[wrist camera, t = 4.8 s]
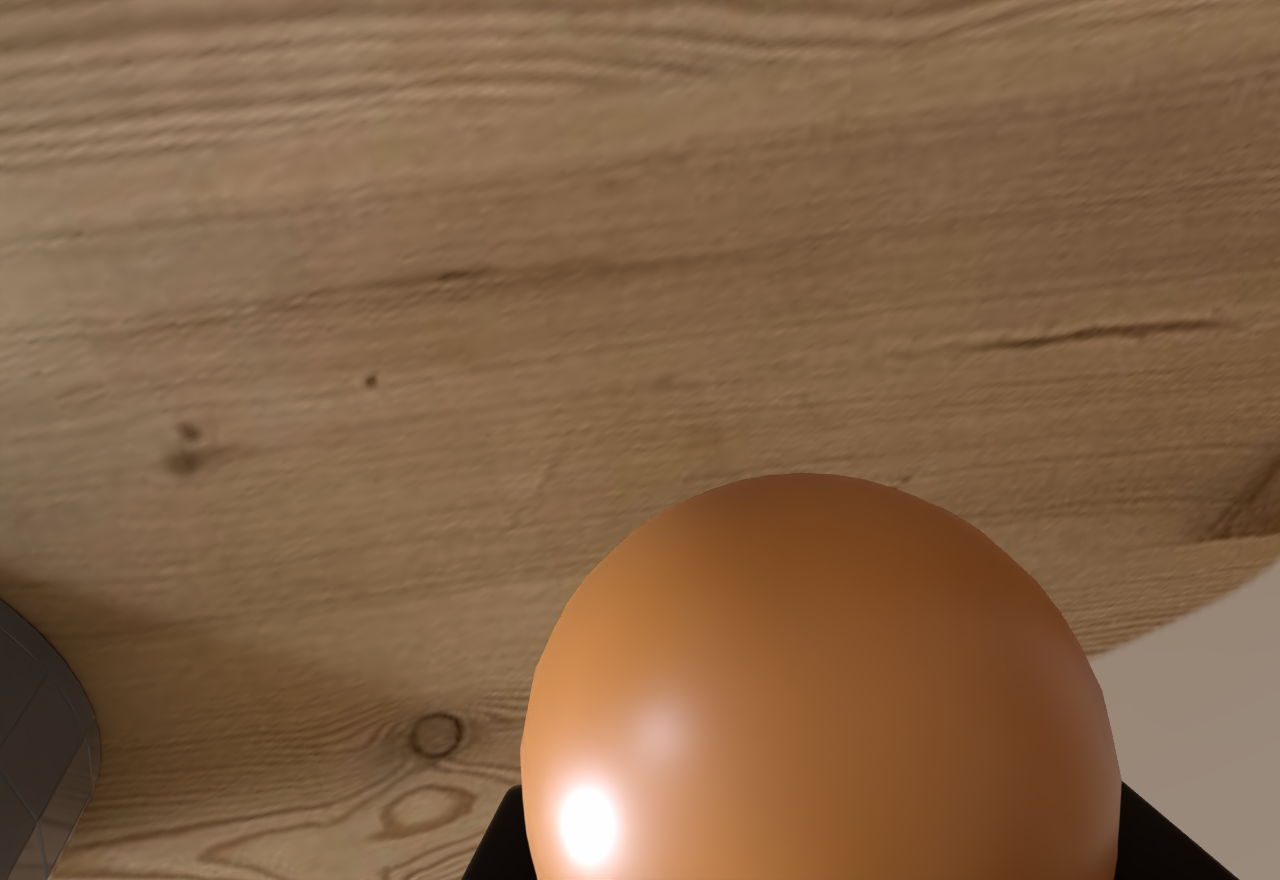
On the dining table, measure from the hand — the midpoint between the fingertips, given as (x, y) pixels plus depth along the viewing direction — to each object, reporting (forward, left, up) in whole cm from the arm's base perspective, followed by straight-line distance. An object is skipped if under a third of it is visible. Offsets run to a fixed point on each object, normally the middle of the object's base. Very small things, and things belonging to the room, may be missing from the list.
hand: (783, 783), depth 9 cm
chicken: (-1, 0, -1) cm, 1 cm away
